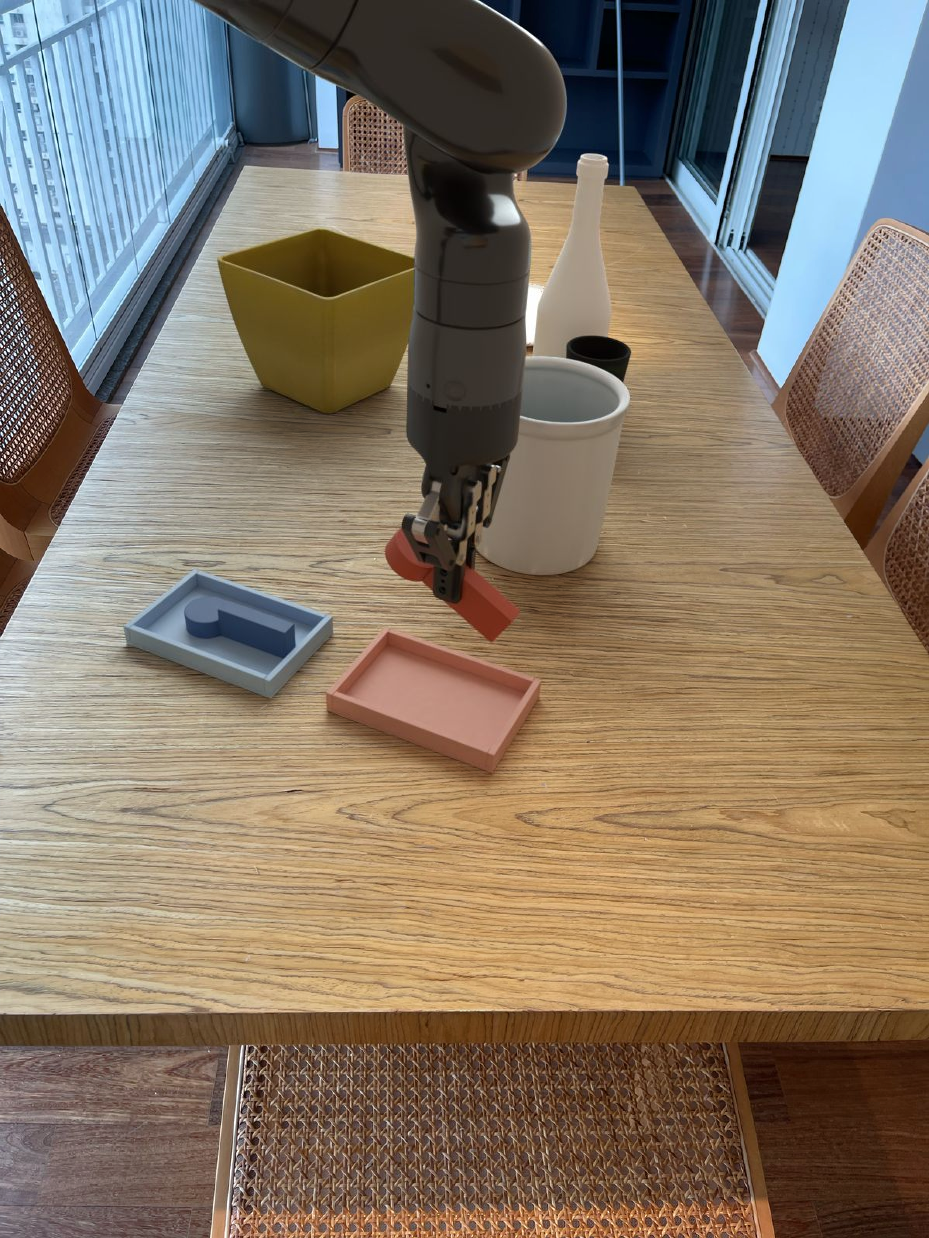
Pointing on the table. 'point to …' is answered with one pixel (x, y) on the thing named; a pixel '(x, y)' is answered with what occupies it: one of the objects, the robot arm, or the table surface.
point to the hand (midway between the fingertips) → (452, 591)
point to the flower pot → (321, 314)
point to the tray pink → (435, 698)
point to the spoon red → (478, 595)
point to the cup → (600, 353)
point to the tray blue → (221, 656)
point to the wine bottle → (577, 271)
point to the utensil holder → (558, 468)
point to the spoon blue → (239, 625)
